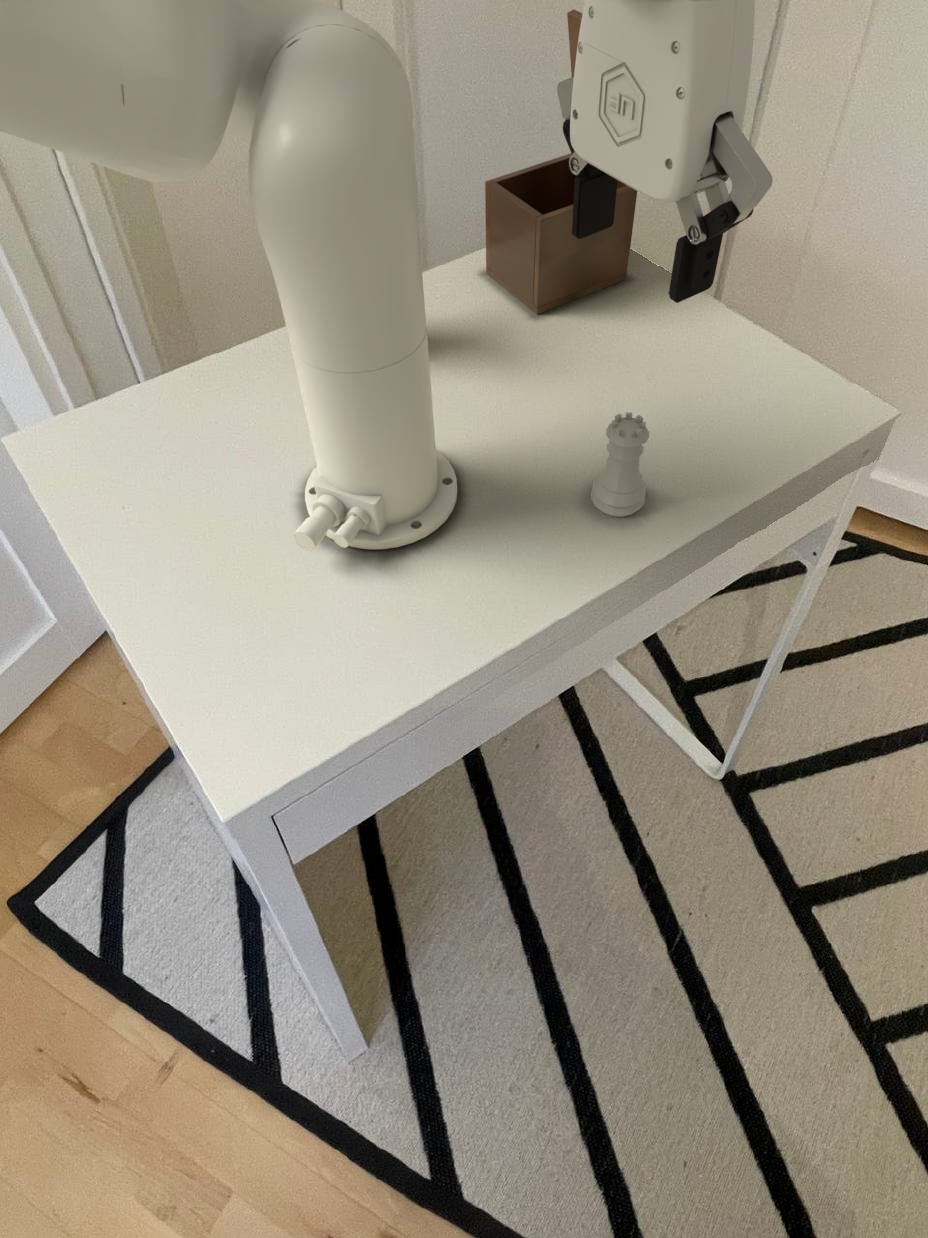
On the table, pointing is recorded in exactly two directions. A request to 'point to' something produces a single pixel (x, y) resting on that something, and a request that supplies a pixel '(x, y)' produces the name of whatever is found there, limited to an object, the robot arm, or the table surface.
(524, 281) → the chest
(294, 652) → the table surface
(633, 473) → the rook chess piece
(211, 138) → the robot arm
